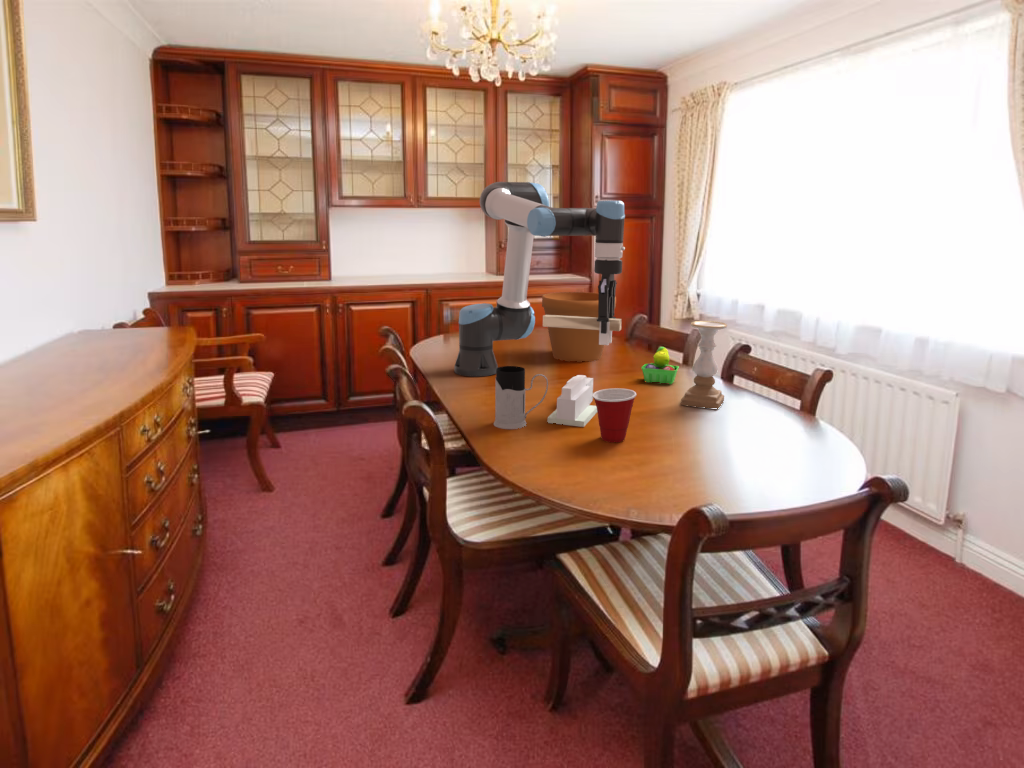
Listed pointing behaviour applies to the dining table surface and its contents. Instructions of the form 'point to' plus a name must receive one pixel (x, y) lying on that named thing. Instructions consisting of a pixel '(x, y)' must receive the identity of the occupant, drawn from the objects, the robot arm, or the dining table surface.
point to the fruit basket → (660, 368)
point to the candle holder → (705, 369)
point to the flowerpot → (571, 340)
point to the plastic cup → (614, 412)
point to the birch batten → (578, 322)
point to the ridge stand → (574, 404)
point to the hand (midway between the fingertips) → (605, 343)
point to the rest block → (588, 383)
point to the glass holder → (511, 397)
